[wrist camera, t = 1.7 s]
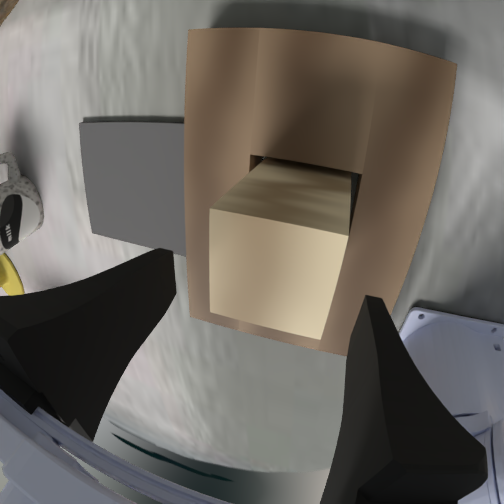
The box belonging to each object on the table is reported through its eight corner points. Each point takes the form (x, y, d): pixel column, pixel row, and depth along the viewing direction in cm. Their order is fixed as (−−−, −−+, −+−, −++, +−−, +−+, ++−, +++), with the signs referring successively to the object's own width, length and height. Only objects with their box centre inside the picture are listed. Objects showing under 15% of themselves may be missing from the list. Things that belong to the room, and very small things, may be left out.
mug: (47, 237, 30) (4, 267, 24) (16, 221, 31) (-24, 247, 25) (38, 149, 24) (-16, 173, 19) (6, 142, 25) (-41, 163, 20)
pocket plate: (443, 66, 13) (457, 63, 11) (370, 337, 23) (369, 360, 21) (207, 34, 16) (188, 29, 14) (202, 297, 26) (189, 316, 24)
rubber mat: (189, 123, 19) (186, 124, 19) (190, 254, 25) (188, 256, 24) (82, 122, 21) (79, 123, 21) (94, 231, 27) (92, 233, 26)
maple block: (351, 169, 18) (348, 236, 10) (336, 242, 20) (320, 339, 13) (269, 154, 19) (209, 208, 12) (263, 227, 22) (209, 312, 14)
